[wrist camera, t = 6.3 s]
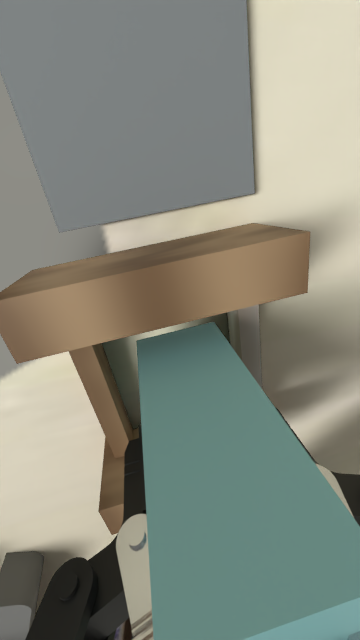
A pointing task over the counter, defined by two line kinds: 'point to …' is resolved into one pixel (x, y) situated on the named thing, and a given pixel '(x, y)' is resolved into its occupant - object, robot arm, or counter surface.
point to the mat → (130, 103)
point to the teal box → (236, 505)
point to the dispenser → (149, 313)
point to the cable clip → (19, 593)
